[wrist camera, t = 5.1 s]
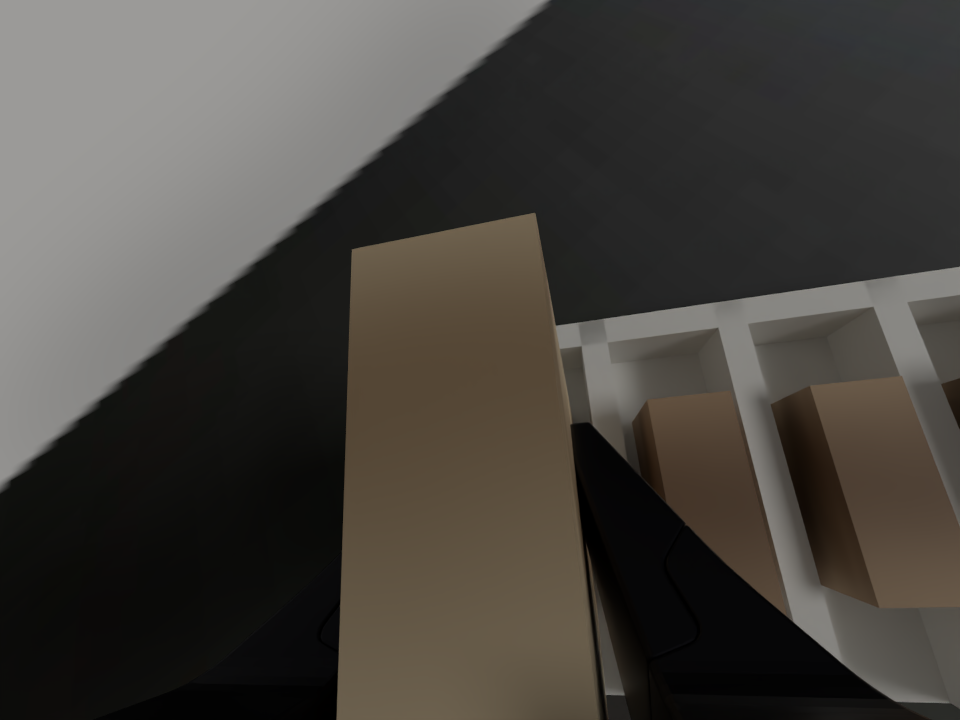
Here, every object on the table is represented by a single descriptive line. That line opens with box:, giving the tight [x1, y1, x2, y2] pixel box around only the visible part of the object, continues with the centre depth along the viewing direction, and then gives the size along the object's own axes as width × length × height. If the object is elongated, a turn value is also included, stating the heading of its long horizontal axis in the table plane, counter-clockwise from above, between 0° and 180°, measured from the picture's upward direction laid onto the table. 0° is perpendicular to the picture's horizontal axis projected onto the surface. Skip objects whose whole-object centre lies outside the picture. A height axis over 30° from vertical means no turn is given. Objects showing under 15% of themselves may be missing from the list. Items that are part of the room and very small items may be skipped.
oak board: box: [337, 213, 608, 720], centre depth 9 cm, size 6×2×12 cm, turn 4°
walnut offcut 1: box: [632, 391, 787, 616], centre depth 12 cm, size 5×2×4 cm, turn 4°
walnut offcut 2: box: [770, 376, 960, 608], centre depth 12 cm, size 5×2×4 cm, turn 4°
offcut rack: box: [556, 267, 960, 708], centre depth 13 cm, size 11×19×3 cm, turn 94°
